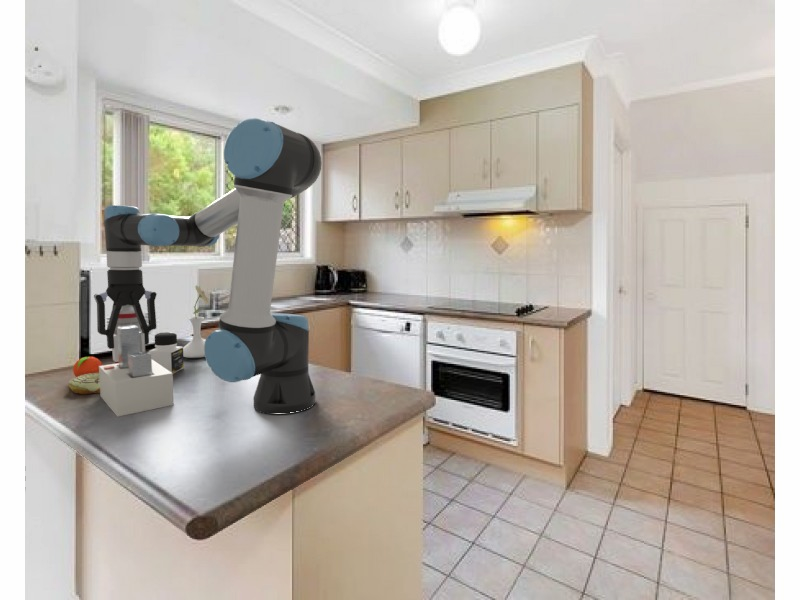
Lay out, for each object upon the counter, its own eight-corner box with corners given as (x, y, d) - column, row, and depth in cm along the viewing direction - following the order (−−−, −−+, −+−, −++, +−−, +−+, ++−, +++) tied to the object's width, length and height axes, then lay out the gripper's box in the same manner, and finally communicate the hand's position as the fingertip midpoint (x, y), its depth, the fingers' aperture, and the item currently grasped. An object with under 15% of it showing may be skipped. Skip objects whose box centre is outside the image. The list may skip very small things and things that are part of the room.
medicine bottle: (172, 374, 135) (170, 335, 133) (149, 373, 135) (147, 334, 133) (184, 368, 142) (182, 331, 140) (162, 367, 142) (160, 330, 141)
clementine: (91, 385, 123) (90, 360, 122) (65, 385, 123) (63, 360, 122) (108, 377, 131) (107, 353, 130) (83, 376, 130) (82, 353, 130)
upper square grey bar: (141, 393, 116) (138, 327, 114) (124, 397, 113) (120, 329, 111) (137, 390, 119) (134, 325, 117) (120, 393, 116) (116, 326, 114)
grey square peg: (153, 406, 109) (151, 354, 107) (134, 410, 106) (132, 356, 104) (148, 401, 112) (146, 351, 110) (130, 405, 109) (127, 353, 107)
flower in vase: (212, 359, 153) (210, 287, 150) (176, 361, 150) (173, 287, 147) (217, 351, 165) (216, 283, 162) (184, 352, 162) (181, 283, 159)
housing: (152, 387, 123) (150, 357, 122) (173, 404, 110) (172, 371, 109) (100, 396, 115) (98, 364, 114) (117, 416, 102) (115, 381, 101)
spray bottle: (125, 369, 138) (120, 289, 135) (110, 366, 142) (105, 288, 139) (148, 364, 145) (145, 287, 142) (133, 361, 149) (130, 286, 146)
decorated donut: (97, 397, 115) (96, 383, 114) (59, 394, 116) (58, 380, 115) (126, 384, 125) (125, 371, 124) (91, 382, 126) (90, 369, 126)
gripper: (160, 267, 121) (163, 350, 124) (77, 268, 108) (83, 361, 111) (169, 268, 116) (172, 356, 118) (83, 270, 103) (89, 367, 106)
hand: (129, 358), depth 115 cm, fingers open, 5 cm apart
